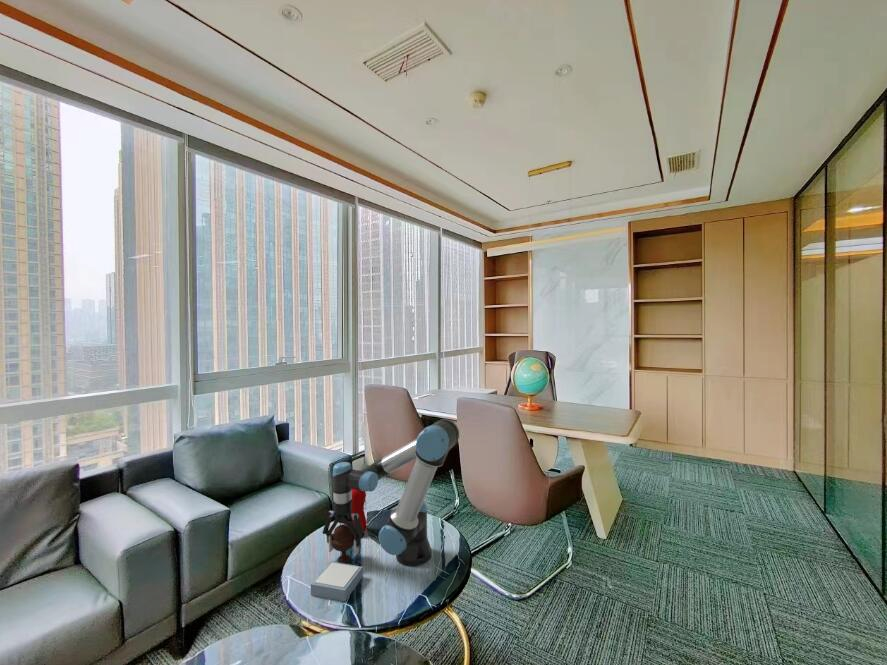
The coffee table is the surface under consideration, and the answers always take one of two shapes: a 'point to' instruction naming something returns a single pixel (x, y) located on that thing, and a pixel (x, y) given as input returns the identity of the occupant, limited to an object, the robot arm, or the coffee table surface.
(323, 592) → the base plinth
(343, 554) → the ice cream bowl
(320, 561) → the coffee table surface
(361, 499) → the water bottle
